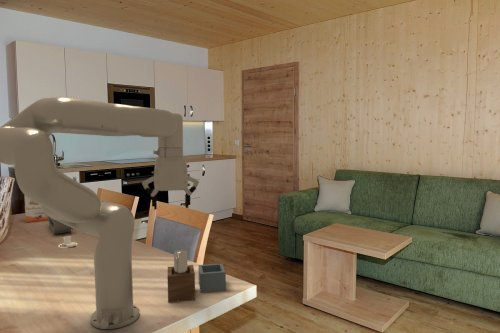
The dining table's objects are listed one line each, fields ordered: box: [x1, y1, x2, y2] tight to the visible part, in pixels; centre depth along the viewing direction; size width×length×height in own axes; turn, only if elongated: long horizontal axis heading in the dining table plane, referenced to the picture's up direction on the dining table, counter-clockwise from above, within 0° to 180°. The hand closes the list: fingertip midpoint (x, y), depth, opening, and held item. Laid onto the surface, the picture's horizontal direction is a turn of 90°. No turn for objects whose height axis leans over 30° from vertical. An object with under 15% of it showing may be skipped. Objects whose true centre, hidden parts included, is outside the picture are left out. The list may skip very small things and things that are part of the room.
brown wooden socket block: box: [167, 264, 196, 303], centre depth 117 cm, size 8×8×8 cm
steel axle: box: [173, 249, 188, 274], centre depth 117 cm, size 4×4×14 cm
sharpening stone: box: [47, 216, 73, 235], centre depth 192 cm, size 25×8×11 cm, turn 35°
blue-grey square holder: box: [198, 263, 227, 293], centre depth 124 cm, size 8×8×6 cm
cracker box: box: [23, 193, 49, 223], centre depth 213 cm, size 14×6×21 cm, turn 119°
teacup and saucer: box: [57, 235, 78, 249], centre depth 168 cm, size 9×8×4 cm
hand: (171, 208), depth 119 cm, fingers open, 9 cm apart
